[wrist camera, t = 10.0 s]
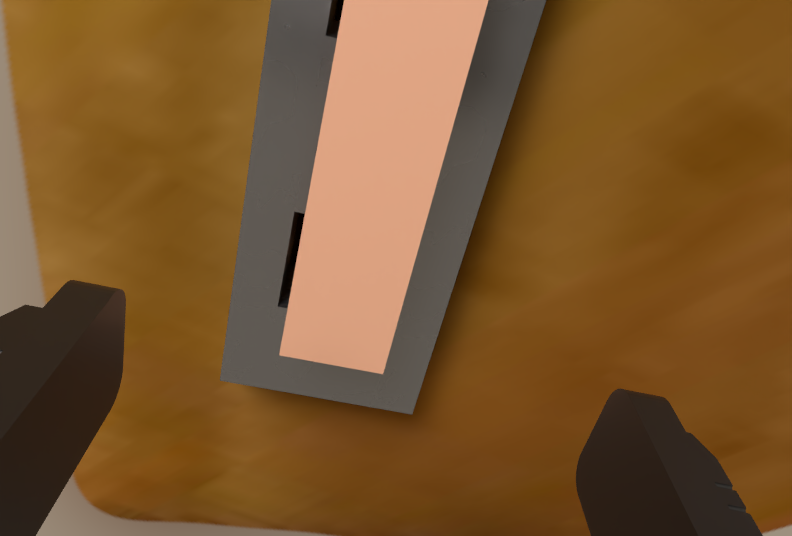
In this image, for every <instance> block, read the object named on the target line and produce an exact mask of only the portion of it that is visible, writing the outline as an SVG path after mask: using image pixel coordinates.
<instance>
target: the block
mask: <svg viewBox="0 0 792 536" xmlns="http://www.w3.org/2000/svg"><path fill="white" fill-rule="evenodd" d="M487 4H488V0H344V4H343V9H342V15H341V20H340V26H339V31H338V36H337V42H336V47H335V53H334V58H333V64H332V69H331V75H330V80H329V86H328V91H327V96H326V102H325V107H324V113H323V118H322V124H321V129H320V135H319V140H318V146H317V151H316V156H315V162H314V167H313V173H312V178H311V184H310V189H309V195H308V200H307V206H306V211H305V217H304V222H303V227H302V233H301V238H300V244H299V249H298V255H297V260H296V266H295V271H294V277H293V282H292V287H291V293H290V298H289V304H288V309H287V315H286V320H285V326H284V331H283V337H282V342H281V348H280V353H279V355H280V356H286V357H291V358H297V359H302V360H308V361H313V362H319V363H324V364H330V365H335V366H341V367H346V368H352V369H357V370H363V371H368V372H373V373H379V374H383V373H384V369H385V366H386V362H387V358H388V355H389V351H390V348H391V344H392V341H393V337H394V334H395V330H396V327H397V323H398V319H399V316H400V312H401V309H402V305H403V302H404V298H405V295H406V291H407V288H408V284H409V280H410V277H411V273H412V270H413V266H414V263H415V259H416V256H417V252H418V249H419V245H420V241H421V238H422V234H423V231H424V227H425V224H426V220H427V217H428V213H429V210H430V206H431V202H432V199H433V195H434V192H435V188H436V185H437V181H438V178H439V174H440V171H441V167H442V163H443V160H444V156H445V153H446V149H447V146H448V142H449V139H450V135H451V132H452V128H453V124H454V121H455V117H456V114H457V110H458V107H459V103H460V100H461V96H462V93H463V89H464V85H465V82H466V78H467V75H468V71H469V68H470V64H471V61H472V57H473V54H474V50H475V47H476V43H477V39H478V36H479V32H480V29H481V25H482V22H483V18H484V15H485V11H486V8H487Z"/></svg>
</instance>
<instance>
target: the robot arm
mask: <svg viewBox="0 0 792 536" xmlns="http://www.w3.org/2000/svg"><path fill="white" fill-rule="evenodd" d="M125 307H126V299H125V293H124V291H123V290H121V289H116V288H111V287H106V286H101V285H96V284H91V283H85V282H80V281H75V280H70V281H68V282H67V283H66V284H65V285H64V286H63V287H62V288H61V289H60V290H59V291H58V292H57V293H56V294H55V295H54V296H53V298H52V299H51V300H50V301H49V302H48V303H47V304H46V305H45V306H44V307H43V308H40V307H34V306H29V305H24V306H22V307H20V308H18V309H16V310H14V311H11V312H9V313H7V314H5V315H3V316H1V317H0V536H36V534H37V532H38V531H39V529H40V527H41V526H42V524H43V522H44V521H45V519H46V517H47V516H48V513H49V512H50V511H51V509H52V507H53V506H54V504H55V502H56V500H57V499H58V497H59V495H60V494H61V492H62V490H63V489H64V487H65V485H66V484H67V482H68V480H69V479H70V477H71V475H72V474H73V472H74V470H75V469H76V467H77V465H78V464H79V462H80V460H81V459H82V457H83V455H84V454H85V452H86V450H87V448H88V447H89V445H90V443H91V442H92V440H93V438H94V437H95V435H96V433H97V432H98V430H99V428H100V427H101V425H102V423H103V422H104V420H105V418H106V417H107V415H108V413H109V412H110V410H111V408H112V406H113V404H114V402H115V399H116V396H117V393H118V390H119V387H120V383H121V378H122V372H123V353H124V330H125ZM576 486H577V492H578V496H579V499H580V502H581V505H582V508H583V511H584V515H585V518H586V521H587V524H588V527H589V530H590V533H591V536H763V535H762V534H761V532H760V530H759V529H758V527H757V525H756V524H755V522H754V520H753V519H752V517H751V515H750V514H748V513H746V511H745V510H746V507H745V505H744V504H743V502H742V500H741V499H740V497H739V495H738V494H737V492H736V491H734V490H732V486H733V485H732V484H731V482H730V480H729V479H728V477H727V475H726V474H725V472H724V470H723V469H722V467H721V465H720V464H719V462H718V460H717V459H716V458H715V457H714V456H713V455H712V454H711V453H710V452H709V451H708V450H707V449H706V448H705V447H704V446H703V445H702V444H701V443H700V442H699V441H698V440H697V439H696V438H695V437H694V436H693V435H692V434H691V433H687V432H686V431H685V429H684V428H683V426H682V424H681V422H680V421H679V419H678V417H677V415H676V414H675V412H674V410H673V408H672V407H671V405H670V403H669V402H668V401H667V400H666V399H665V398H663V397H660V396H655V395H649V394H644V393H639V392H634V391H629V390H624V389H617V390H615V391H614V392H613V393H612V394H611V395H610V397H609V398H608V400H607V402H606V404H605V406H604V408H603V410H602V412H601V414H600V416H599V418H598V420H597V422H596V424H595V426H594V428H593V430H592V432H591V434H590V436H589V439H588V441H587V443H586V445H585V447H584V449H583V451H582V453H581V455H580V457H579V461H578V465H577V471H576Z"/></svg>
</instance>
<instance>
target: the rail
mask: <svg viewBox="0 0 792 536" xmlns="http://www.w3.org/2000/svg"><path fill="white" fill-rule="evenodd" d="M337 1H338V0H271V8H270V15H269V22H268V30H267V37H266V45H265V52H264V59H263V67H262V74H261V81H260V89H259V96H258V104H257V111H256V118H255V126H254V133H253V140H252V148H251V155H250V163H249V170H248V177H247V185H246V192H245V199H244V207H243V214H242V221H241V229H240V236H239V244H238V251H237V258H236V266H235V273H234V280H233V288H232V295H231V303H230V310H229V317H228V325H227V332H226V339H225V347H224V354H223V362H222V369H221V376H220V381H226V382H231V383H237V384H243V385H248V386H254V387H260V388H265V389H271V390H277V391H282V392H288V393H293V394H299V395H305V396H310V397H316V398H322V399H327V400H333V401H339V402H344V403H350V404H356V405H361V406H367V407H373V408H378V409H384V410H389V411H395V412H401V413H406V414H413V410H414V407H415V404H416V401H417V398H418V395H419V392H420V389H421V386H422V383H423V380H424V376H425V373H426V370H427V367H428V364H429V361H430V358H431V355H432V352H433V349H434V346H435V342H436V339H437V336H438V333H439V330H440V327H441V324H442V321H443V318H444V315H445V312H446V308H447V305H448V302H449V299H450V296H451V293H452V290H453V287H454V284H455V281H456V278H457V275H458V271H459V268H460V265H461V262H462V259H463V256H464V253H465V250H466V247H467V244H468V241H469V237H470V234H471V231H472V228H473V225H474V222H475V219H476V216H477V213H478V210H479V207H480V203H481V200H482V197H483V194H484V191H485V188H486V185H487V182H488V179H489V176H490V173H491V169H492V166H493V163H494V160H495V157H496V154H497V151H498V148H499V145H500V142H501V139H502V136H503V132H504V129H505V126H506V123H507V120H508V117H509V114H510V111H511V108H512V105H513V102H514V98H515V95H516V92H517V89H518V86H519V83H520V80H521V77H522V74H523V71H524V68H525V64H526V61H527V58H528V55H529V52H530V49H531V46H532V43H533V40H534V37H535V34H536V30H537V27H538V24H539V21H540V18H541V15H542V12H543V9H544V6H545V3H546V0H488V4H487V8H486V11H485V15H484V18H483V22H482V25H481V29H480V32H479V36H478V39H477V43H476V47H475V50H474V54H473V57H472V61H471V64H470V68H469V71H468V75H467V78H466V82H465V85H464V89H463V93H462V96H461V100H460V103H459V107H458V110H457V114H456V117H455V121H454V124H453V128H452V132H451V135H450V139H449V142H448V146H447V149H446V153H445V156H444V160H443V163H442V167H441V171H440V174H439V178H438V181H437V185H436V188H435V192H434V195H433V199H432V202H431V206H430V210H429V213H428V217H427V220H426V224H425V227H424V231H423V234H422V238H421V241H420V245H419V249H418V252H417V256H416V259H415V263H414V266H413V270H412V273H411V277H410V280H409V284H408V288H407V291H406V295H405V298H404V302H403V305H402V309H401V312H400V316H399V319H398V323H397V327H396V330H395V334H394V337H393V341H392V344H391V348H390V351H389V355H388V358H387V362H386V366H385V369H384V373H383V374H379V373H373V372H368V371H363V370H357V369H352V368H346V367H341V366H335V365H330V364H324V363H319V362H313V361H308V360H302V359H297V358H291V357H286V356H280V355H279V353H280V348H281V342H282V337H283V331H284V326H285V320H286V315H287V309H288V304H289V298H290V293H291V287H292V282H293V277H294V271H295V266H296V264H292V263H290V261H291V255H292V250H293V244H294V239H295V233H296V228H297V222H298V217H299V213H303V214H305V211H306V206H307V200H308V195H309V189H310V184H311V178H312V173H313V167H314V162H315V156H316V151H317V146H318V140H319V135H320V129H321V124H322V118H323V113H324V107H325V102H326V96H327V91H328V86H329V80H330V75H331V69H332V64H333V58H334V53H335V47H336V42H337V36H338V31H339V26H340V22H339V21H335V20H334V18H335V12H336V7H337Z"/></svg>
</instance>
